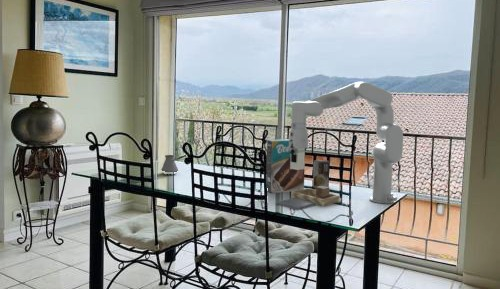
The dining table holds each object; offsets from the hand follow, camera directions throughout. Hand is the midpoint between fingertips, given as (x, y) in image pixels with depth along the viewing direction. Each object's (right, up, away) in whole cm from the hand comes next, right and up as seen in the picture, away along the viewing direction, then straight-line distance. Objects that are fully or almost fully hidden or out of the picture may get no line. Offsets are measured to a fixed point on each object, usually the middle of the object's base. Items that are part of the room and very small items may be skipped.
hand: (297, 161), depth 225 cm
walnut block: (+14, -22, +9) cm, 28 cm away
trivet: (0, -23, +3) cm, 23 cm away
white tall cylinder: (0, -4, +1) cm, 4 cm away
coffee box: (+19, -18, +44) cm, 51 cm away
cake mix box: (-4, -19, +33) cm, 38 cm away
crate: (+11, -21, +13) cm, 27 cm away
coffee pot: (-75, -12, +73) cm, 105 cm away
